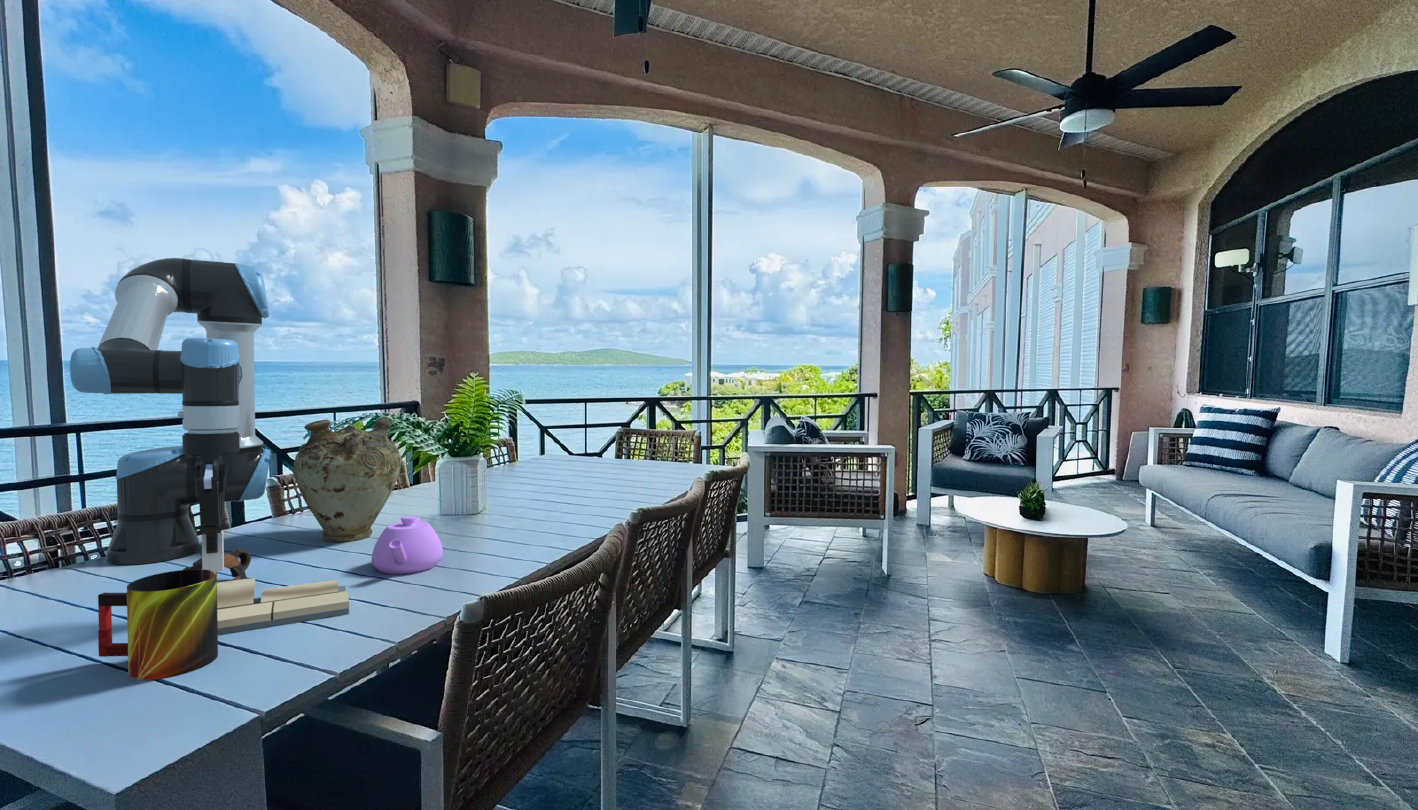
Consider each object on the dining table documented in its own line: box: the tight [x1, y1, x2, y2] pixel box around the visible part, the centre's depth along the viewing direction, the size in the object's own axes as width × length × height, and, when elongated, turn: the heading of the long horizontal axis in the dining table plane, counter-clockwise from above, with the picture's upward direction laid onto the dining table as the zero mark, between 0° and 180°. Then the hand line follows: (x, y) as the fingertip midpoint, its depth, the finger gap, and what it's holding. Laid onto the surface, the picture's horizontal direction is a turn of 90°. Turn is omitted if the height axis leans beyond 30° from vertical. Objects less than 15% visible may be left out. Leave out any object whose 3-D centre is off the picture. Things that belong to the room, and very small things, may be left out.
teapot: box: [371, 515, 444, 575], centre depth 134 cm, size 14×20×11 cm
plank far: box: [260, 579, 338, 608], centre depth 112 cm, size 6×11×1 cm, turn 123°
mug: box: [97, 569, 219, 681], centre depth 87 cm, size 10×14×12 cm
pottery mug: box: [182, 548, 252, 581], centre depth 120 cm, size 12×10×8 cm
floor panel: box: [217, 585, 350, 636], centre depth 106 cm, size 13×26×2 cm, turn 123°
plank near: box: [217, 577, 256, 610], centre depth 105 cm, size 6×11×1 cm, turn 122°
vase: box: [292, 416, 402, 543], centre depth 155 cm, size 23×23×30 cm
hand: (213, 570), depth 106 cm, fingers closed
